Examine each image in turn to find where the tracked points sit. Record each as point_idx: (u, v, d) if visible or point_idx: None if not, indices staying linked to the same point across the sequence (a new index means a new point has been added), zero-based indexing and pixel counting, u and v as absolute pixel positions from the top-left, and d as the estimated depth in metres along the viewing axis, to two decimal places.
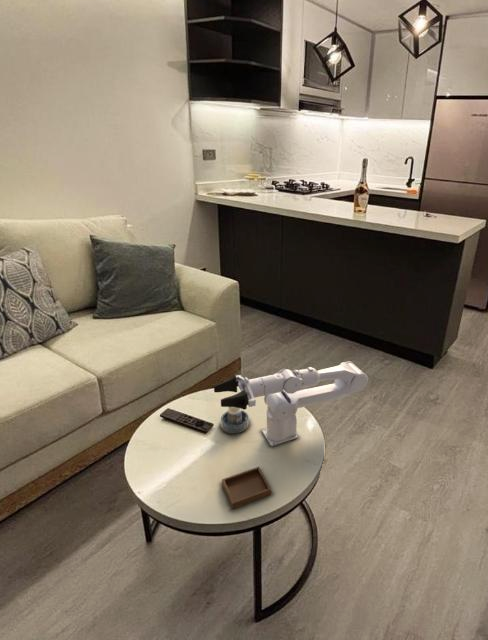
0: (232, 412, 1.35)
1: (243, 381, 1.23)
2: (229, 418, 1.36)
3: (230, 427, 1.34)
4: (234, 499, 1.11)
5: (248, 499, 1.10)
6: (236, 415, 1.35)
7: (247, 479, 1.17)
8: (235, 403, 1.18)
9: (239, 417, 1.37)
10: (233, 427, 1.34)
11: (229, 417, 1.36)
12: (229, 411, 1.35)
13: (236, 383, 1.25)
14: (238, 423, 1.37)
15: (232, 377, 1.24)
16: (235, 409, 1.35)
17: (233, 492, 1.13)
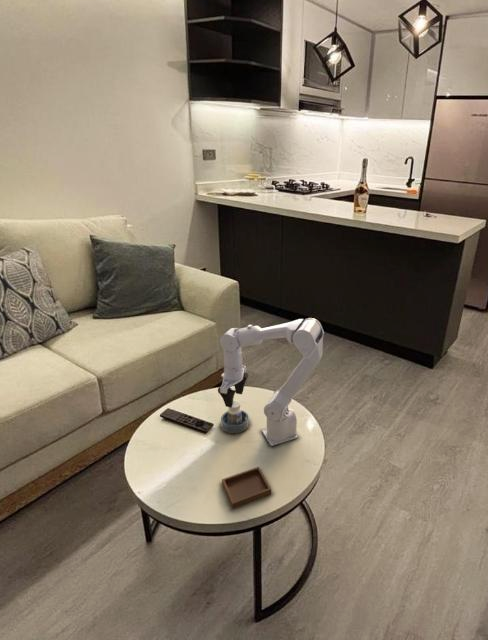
0: (232, 412, 1.35)
1: None
2: (229, 418, 1.36)
3: (230, 427, 1.34)
4: (234, 499, 1.11)
5: (248, 499, 1.10)
6: (236, 415, 1.35)
7: (247, 479, 1.17)
8: (229, 397, 1.30)
9: (239, 417, 1.37)
10: (233, 427, 1.34)
11: (229, 417, 1.36)
12: (229, 411, 1.35)
13: None
14: (238, 423, 1.37)
15: None
16: (235, 409, 1.35)
17: (233, 492, 1.13)
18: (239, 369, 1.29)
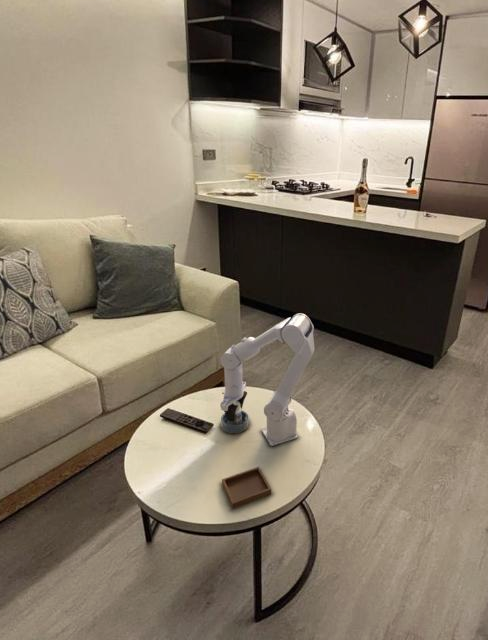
0: None
1: None
2: None
3: (230, 427, 1.34)
4: (234, 499, 1.11)
5: (248, 499, 1.10)
6: (236, 415, 1.35)
7: (247, 479, 1.17)
8: (232, 411, 1.33)
9: (239, 417, 1.37)
10: (233, 427, 1.34)
11: None
12: None
13: None
14: (238, 423, 1.37)
15: None
16: None
17: (233, 492, 1.13)
18: (239, 386, 1.31)
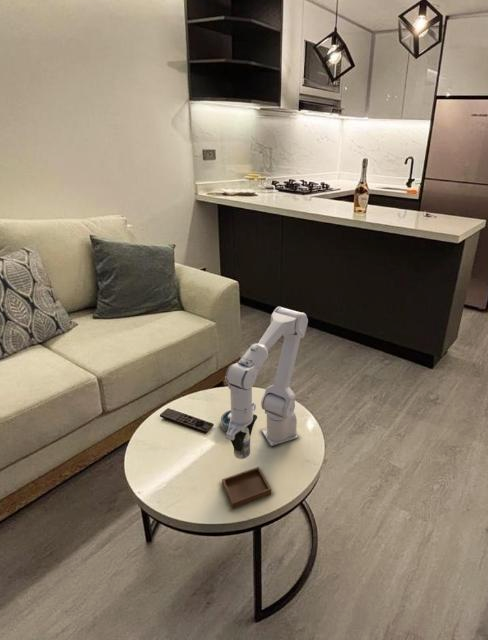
0: None
1: None
2: None
3: None
4: (234, 499, 1.11)
5: (248, 499, 1.10)
6: (243, 444, 1.14)
7: (247, 479, 1.17)
8: None
9: (248, 446, 1.15)
10: None
11: None
12: None
13: None
14: (246, 453, 1.15)
15: None
16: None
17: (233, 492, 1.13)
18: (249, 410, 1.10)
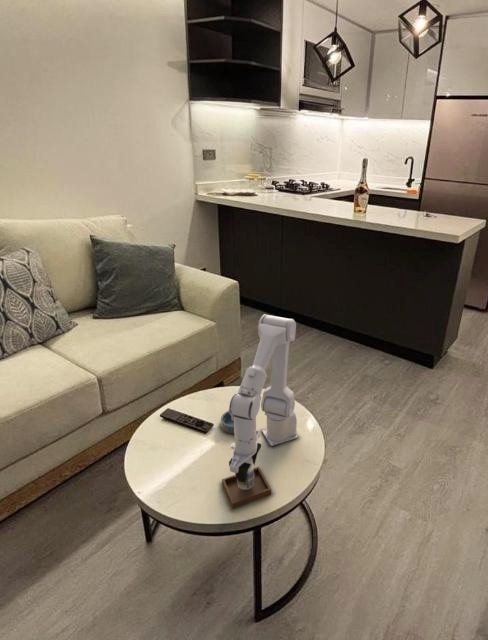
0: None
1: None
2: None
3: (230, 427, 1.34)
4: (234, 499, 1.11)
5: (248, 499, 1.10)
6: (247, 474, 1.09)
7: None
8: (243, 471, 1.08)
9: (252, 476, 1.11)
10: (233, 427, 1.34)
11: None
12: None
13: None
14: (250, 483, 1.11)
15: None
16: None
17: (233, 492, 1.13)
18: (253, 441, 1.06)
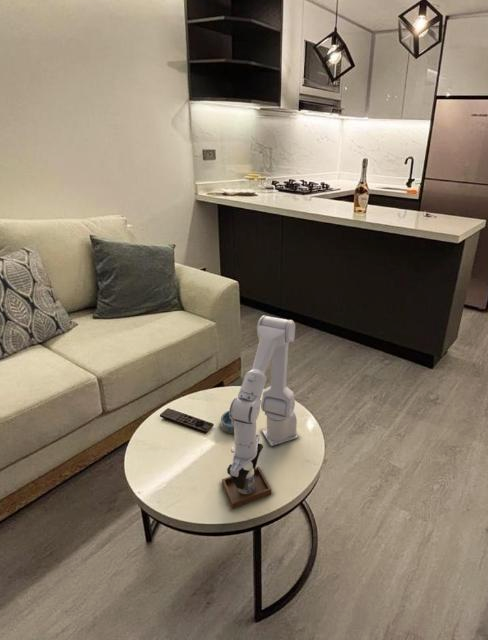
0: None
1: None
2: None
3: (230, 427, 1.34)
4: (234, 499, 1.11)
5: (248, 499, 1.10)
6: (247, 479, 1.10)
7: None
8: None
9: (252, 481, 1.12)
10: (233, 427, 1.34)
11: None
12: None
13: None
14: (250, 488, 1.12)
15: None
16: None
17: (233, 492, 1.13)
18: (253, 444, 1.06)
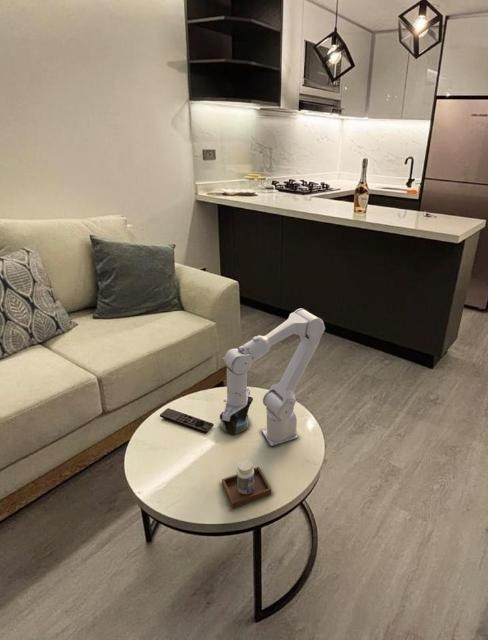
0: (243, 476, 1.10)
1: None
2: (239, 482, 1.11)
3: None
4: (234, 499, 1.11)
5: (248, 499, 1.10)
6: (247, 479, 1.10)
7: None
8: (232, 424, 1.18)
9: (252, 481, 1.12)
10: None
11: (239, 481, 1.11)
12: (239, 474, 1.10)
13: None
14: (250, 488, 1.12)
15: None
16: (247, 472, 1.10)
17: (233, 492, 1.13)
18: (243, 394, 1.17)
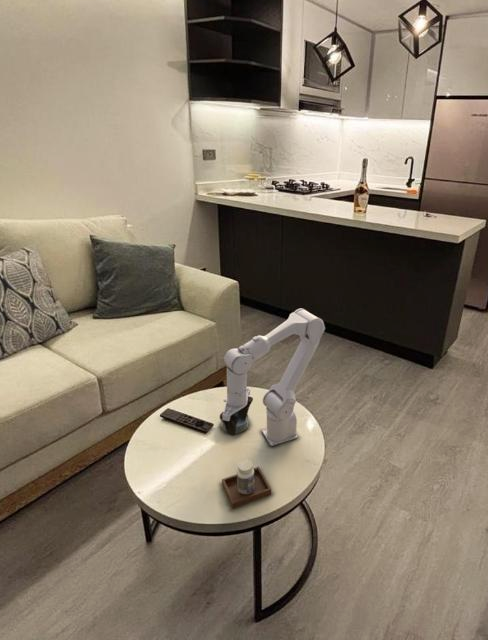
0: (243, 476, 1.10)
1: None
2: (239, 482, 1.11)
3: None
4: (234, 499, 1.11)
5: (248, 499, 1.10)
6: (247, 479, 1.10)
7: None
8: (232, 424, 1.18)
9: (252, 481, 1.12)
10: None
11: (239, 481, 1.11)
12: (239, 474, 1.10)
13: None
14: (250, 488, 1.12)
15: None
16: (247, 472, 1.10)
17: (233, 492, 1.13)
18: (243, 393, 1.17)
